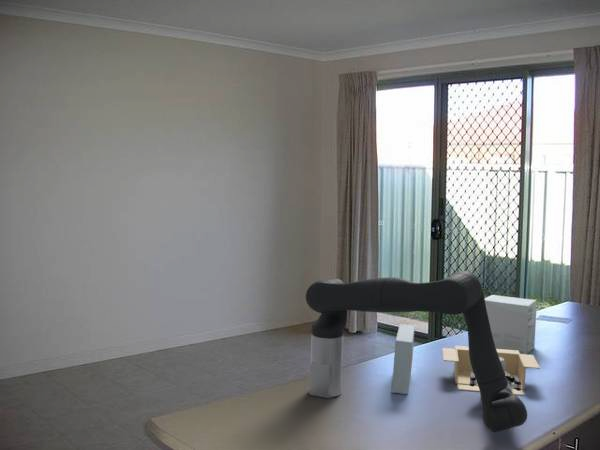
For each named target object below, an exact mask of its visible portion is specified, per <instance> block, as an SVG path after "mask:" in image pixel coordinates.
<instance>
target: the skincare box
mask: <svg viewBox="0 0 600 450" xmlns="http://www.w3.org/2000/svg"><path fill="white" fill-rule="evenodd" d="M414 340H415V325H411V324H410V325H409V324H402V323H400V324H399V326H398V330H397V334H396V338H395V342H394V343H395V344H394V357H393V368H392V380H391V381H392V382H391V390H390V391H391V392H390V393H393V394H402V395H408V394H409V389H410V383H411V382H410V381H411V376H412V374H411V373H412V368H413V367H412V366H413V357H414V356H413V355H414V343H415V341H414Z"/></svg>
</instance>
